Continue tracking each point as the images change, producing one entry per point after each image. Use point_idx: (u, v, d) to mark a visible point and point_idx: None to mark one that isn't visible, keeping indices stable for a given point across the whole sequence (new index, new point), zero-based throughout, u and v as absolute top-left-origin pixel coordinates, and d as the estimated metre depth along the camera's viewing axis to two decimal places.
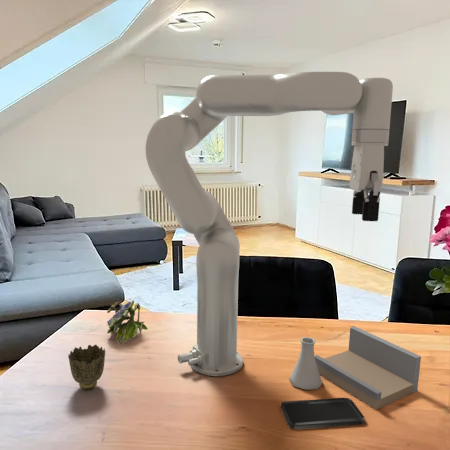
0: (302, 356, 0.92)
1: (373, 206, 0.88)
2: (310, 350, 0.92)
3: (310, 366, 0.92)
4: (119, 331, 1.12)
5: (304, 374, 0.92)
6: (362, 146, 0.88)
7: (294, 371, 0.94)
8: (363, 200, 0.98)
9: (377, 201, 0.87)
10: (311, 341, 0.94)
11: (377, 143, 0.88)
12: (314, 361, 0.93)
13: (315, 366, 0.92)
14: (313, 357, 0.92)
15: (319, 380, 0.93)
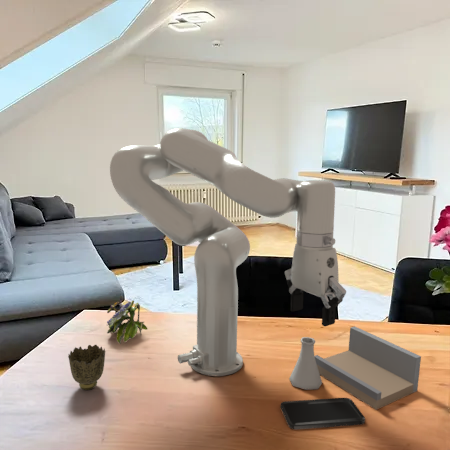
0: (302, 356, 0.92)
1: None
2: (310, 350, 0.92)
3: (310, 366, 0.92)
4: (119, 331, 1.12)
5: (304, 374, 0.92)
6: None
7: (294, 371, 0.94)
8: None
9: None
10: (311, 341, 0.94)
11: None
12: (314, 361, 0.92)
13: (315, 366, 0.92)
14: (313, 357, 0.92)
15: (319, 380, 0.93)
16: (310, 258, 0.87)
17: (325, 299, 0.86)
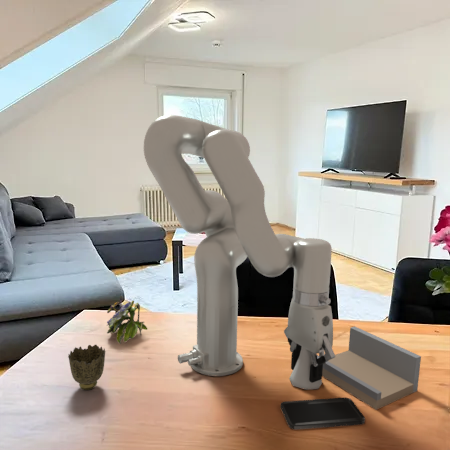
0: (302, 355, 0.92)
1: None
2: None
3: None
4: (119, 331, 1.12)
5: (304, 374, 0.92)
6: None
7: (294, 371, 0.94)
8: None
9: None
10: None
11: None
12: None
13: None
14: None
15: (319, 380, 0.93)
16: (306, 315, 0.89)
17: (315, 358, 0.89)
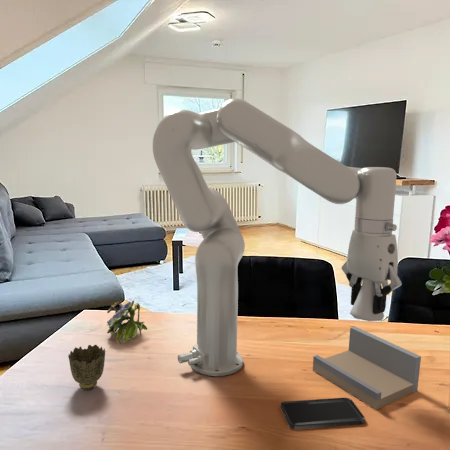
0: (364, 288, 0.90)
1: None
2: (373, 282, 0.90)
3: (373, 297, 0.90)
4: (119, 331, 1.12)
5: (367, 306, 0.90)
6: None
7: (355, 304, 0.92)
8: None
9: None
10: None
11: None
12: None
13: None
14: (375, 289, 0.90)
15: (382, 313, 0.91)
16: (370, 244, 0.87)
17: (380, 287, 0.87)
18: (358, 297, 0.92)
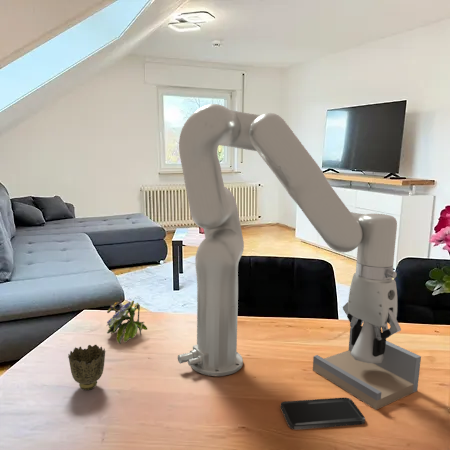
0: (364, 330, 0.93)
1: None
2: (373, 325, 0.93)
3: (373, 340, 0.92)
4: (119, 331, 1.12)
5: (367, 348, 0.92)
6: None
7: (356, 346, 0.94)
8: None
9: None
10: None
11: None
12: None
13: None
14: None
15: (381, 355, 0.93)
16: (371, 289, 0.90)
17: (379, 331, 0.90)
18: (358, 339, 0.94)
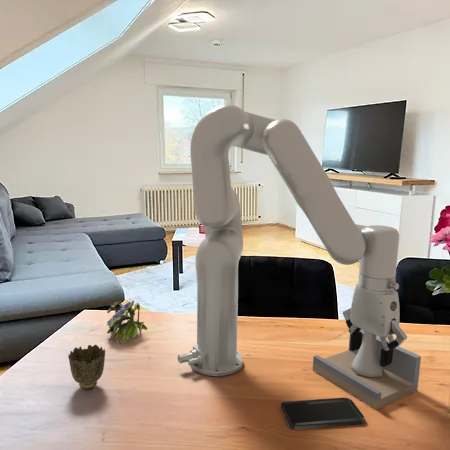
0: (365, 344, 0.94)
1: None
2: (374, 339, 0.94)
3: (374, 354, 0.93)
4: (119, 331, 1.12)
5: (368, 362, 0.93)
6: None
7: (356, 360, 0.95)
8: None
9: None
10: None
11: None
12: (377, 349, 0.94)
13: (378, 354, 0.94)
14: (376, 345, 0.94)
15: (381, 368, 0.94)
16: (373, 300, 0.91)
17: (386, 341, 0.90)
18: (359, 352, 0.95)
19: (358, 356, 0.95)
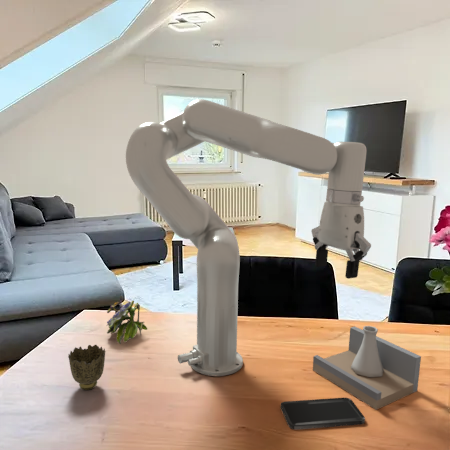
0: (365, 344, 0.94)
1: None
2: (374, 339, 0.94)
3: (374, 354, 0.93)
4: (119, 331, 1.12)
5: (368, 362, 0.93)
6: None
7: (356, 360, 0.95)
8: None
9: None
10: (373, 330, 0.95)
11: None
12: (377, 349, 0.94)
13: (378, 354, 0.94)
14: (376, 345, 0.94)
15: (381, 368, 0.94)
16: (339, 213, 0.93)
17: (351, 252, 0.92)
18: (359, 352, 0.95)
19: (358, 356, 0.95)
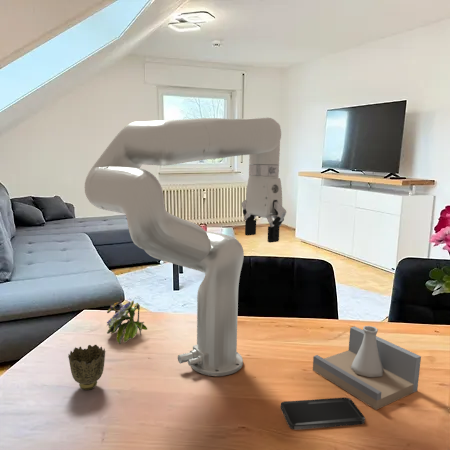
0: (365, 344, 0.94)
1: None
2: (374, 339, 0.94)
3: (374, 354, 0.93)
4: (119, 331, 1.12)
5: (368, 362, 0.93)
6: None
7: (356, 360, 0.95)
8: None
9: None
10: (373, 330, 0.95)
11: None
12: (377, 349, 0.94)
13: (378, 354, 0.94)
14: (376, 345, 0.94)
15: (381, 368, 0.94)
16: (259, 185, 1.04)
17: (270, 219, 1.03)
18: (359, 352, 0.95)
19: (358, 356, 0.95)
